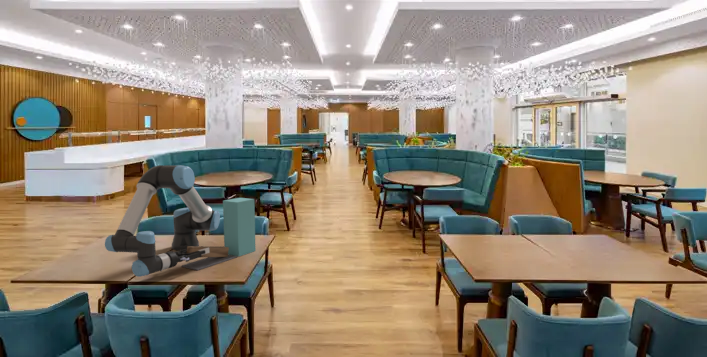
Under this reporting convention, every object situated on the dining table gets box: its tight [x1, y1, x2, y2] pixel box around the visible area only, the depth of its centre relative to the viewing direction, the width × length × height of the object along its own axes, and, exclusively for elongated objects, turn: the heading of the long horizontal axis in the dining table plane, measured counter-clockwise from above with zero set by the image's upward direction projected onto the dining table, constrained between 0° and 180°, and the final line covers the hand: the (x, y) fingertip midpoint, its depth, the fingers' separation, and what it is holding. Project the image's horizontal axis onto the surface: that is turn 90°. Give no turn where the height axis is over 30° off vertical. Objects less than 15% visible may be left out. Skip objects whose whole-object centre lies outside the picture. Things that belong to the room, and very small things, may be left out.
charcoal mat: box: [181, 254, 238, 271], centre depth 231 cm, size 12×26×1 cm, turn 149°
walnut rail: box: [187, 245, 229, 258], centre depth 230 cm, size 4×24×5 cm, turn 149°
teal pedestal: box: [222, 197, 257, 257], centre depth 248 cm, size 11×13×30 cm
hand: (205, 249), depth 228 cm, fingers closed on walnut rail, 4 cm apart
